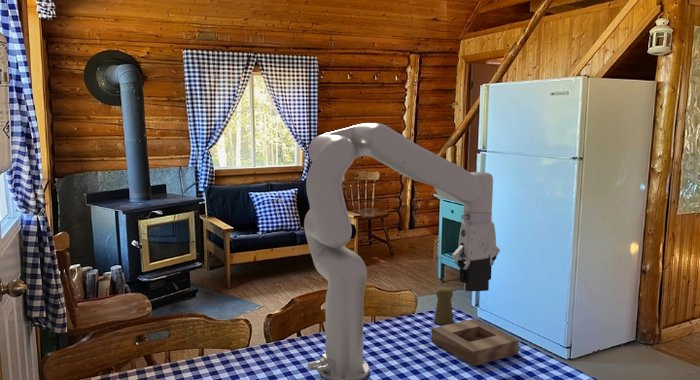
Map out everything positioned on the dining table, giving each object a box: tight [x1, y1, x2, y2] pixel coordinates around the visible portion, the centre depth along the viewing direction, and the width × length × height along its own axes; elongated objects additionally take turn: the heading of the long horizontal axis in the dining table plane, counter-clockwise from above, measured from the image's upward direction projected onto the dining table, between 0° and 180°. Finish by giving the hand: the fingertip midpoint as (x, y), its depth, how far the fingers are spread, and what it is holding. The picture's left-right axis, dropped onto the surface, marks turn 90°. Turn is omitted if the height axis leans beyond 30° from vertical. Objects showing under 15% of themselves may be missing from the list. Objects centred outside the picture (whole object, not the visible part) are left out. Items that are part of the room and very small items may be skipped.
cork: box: [433, 286, 454, 326], centre depth 171 cm, size 6×6×11 cm
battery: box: [463, 255, 490, 292], centre depth 149 cm, size 7×4×11 cm, turn 94°
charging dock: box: [431, 318, 520, 367], centre depth 152 cm, size 16×18×4 cm
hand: (475, 279), depth 149 cm, fingers closed on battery, 7 cm apart
